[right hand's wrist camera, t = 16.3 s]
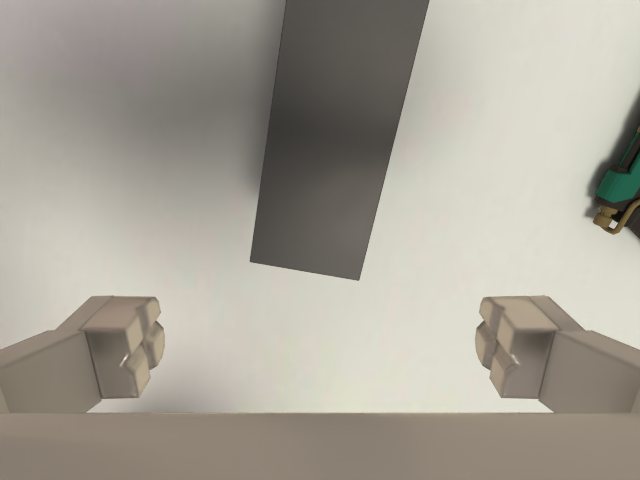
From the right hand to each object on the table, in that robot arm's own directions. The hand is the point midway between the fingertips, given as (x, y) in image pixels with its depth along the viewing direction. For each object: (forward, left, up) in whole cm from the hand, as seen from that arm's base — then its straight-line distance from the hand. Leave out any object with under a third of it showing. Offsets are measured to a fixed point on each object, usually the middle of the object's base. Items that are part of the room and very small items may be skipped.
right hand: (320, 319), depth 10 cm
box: (0, +8, -23) cm, 24 cm away
